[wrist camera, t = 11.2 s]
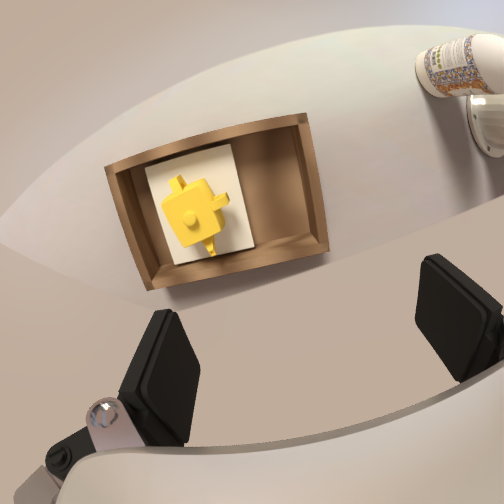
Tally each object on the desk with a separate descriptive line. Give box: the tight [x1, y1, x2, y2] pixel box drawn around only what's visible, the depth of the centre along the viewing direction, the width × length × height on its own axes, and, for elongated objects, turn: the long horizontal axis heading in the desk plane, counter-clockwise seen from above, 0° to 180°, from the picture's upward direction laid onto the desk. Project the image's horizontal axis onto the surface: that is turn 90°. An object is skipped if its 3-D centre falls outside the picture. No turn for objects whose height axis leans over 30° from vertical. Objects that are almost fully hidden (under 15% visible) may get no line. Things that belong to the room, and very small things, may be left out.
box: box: [104, 113, 330, 291], centre depth 28 cm, size 20×14×5 cm
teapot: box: [161, 174, 230, 257], centre depth 25 cm, size 8×6×5 cm
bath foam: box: [415, 34, 504, 98], centre depth 15 cm, size 7×7×20 cm
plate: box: [145, 144, 254, 265], centre depth 28 cm, size 9×11×2 cm
